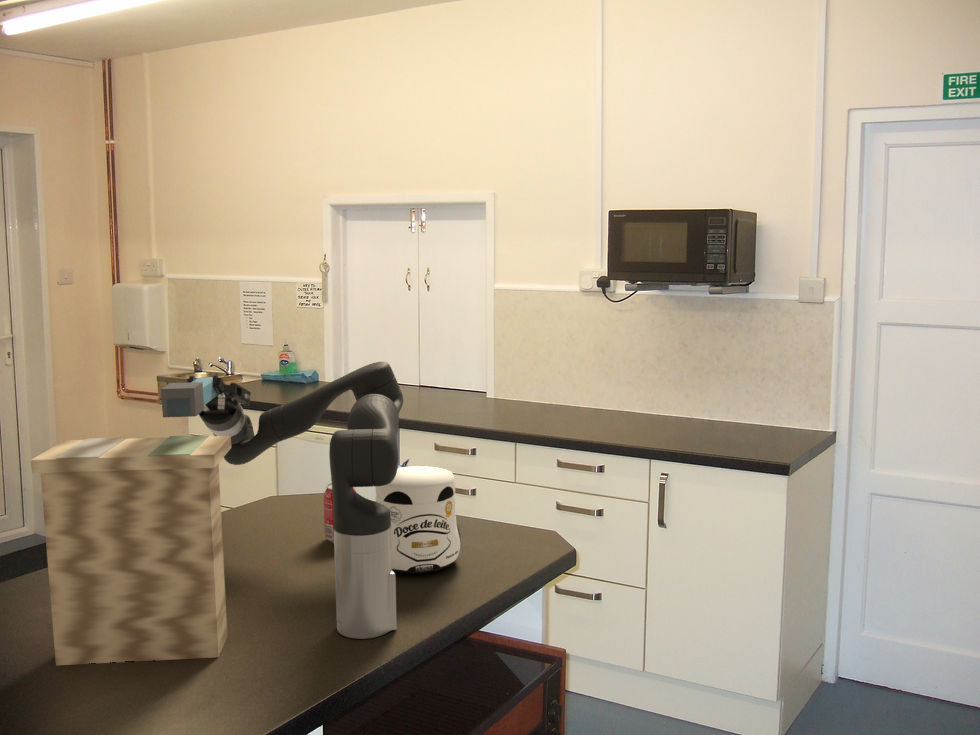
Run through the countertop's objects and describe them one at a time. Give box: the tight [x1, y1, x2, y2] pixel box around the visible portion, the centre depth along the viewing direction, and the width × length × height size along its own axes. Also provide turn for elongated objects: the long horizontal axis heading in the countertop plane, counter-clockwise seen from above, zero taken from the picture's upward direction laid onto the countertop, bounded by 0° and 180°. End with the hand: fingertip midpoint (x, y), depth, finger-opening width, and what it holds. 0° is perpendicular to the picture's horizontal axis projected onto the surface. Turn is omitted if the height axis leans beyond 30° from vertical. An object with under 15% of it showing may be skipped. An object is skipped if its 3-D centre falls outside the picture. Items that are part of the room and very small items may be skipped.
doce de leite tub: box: [375, 465, 462, 574], centre depth 174 cm, size 17×17×18 cm
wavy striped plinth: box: [30, 434, 231, 666], centre depth 139 cm, size 26×13×32 cm, turn 96°
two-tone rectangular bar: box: [160, 376, 218, 418], centre depth 149 cm, size 5×22×4 cm, turn 6°
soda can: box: [323, 482, 357, 544], centre depth 189 cm, size 7×7×12 cm
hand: (202, 380), depth 156 cm, fingers closed on two-tone rectangular bar, 3 cm apart
